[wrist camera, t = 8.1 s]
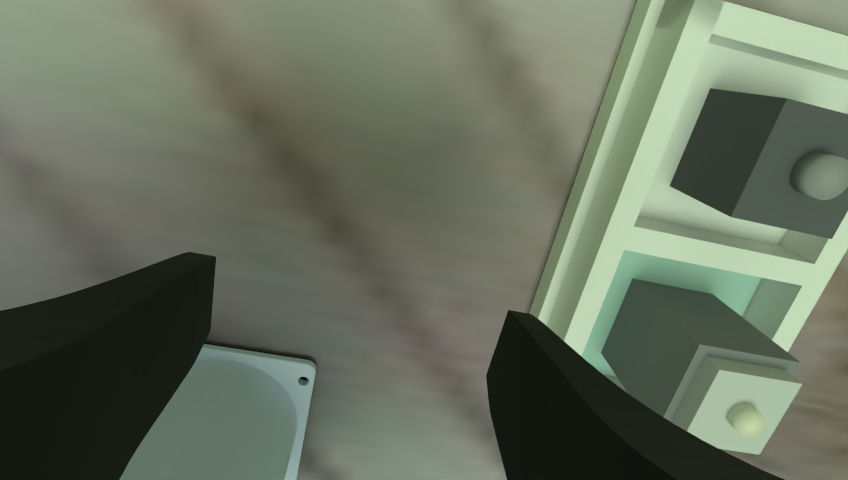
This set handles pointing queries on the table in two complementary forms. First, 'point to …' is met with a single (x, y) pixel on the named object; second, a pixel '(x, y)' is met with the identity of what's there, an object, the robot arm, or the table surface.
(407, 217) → the table surface
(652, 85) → the pale green compartment tray
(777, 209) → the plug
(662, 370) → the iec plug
